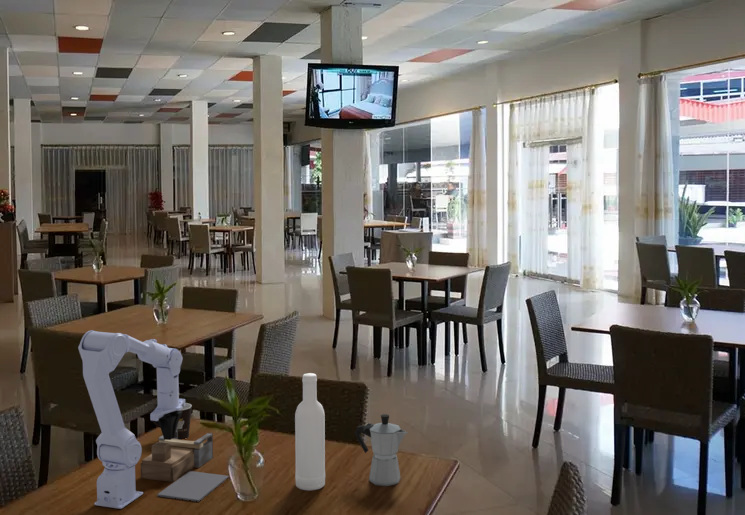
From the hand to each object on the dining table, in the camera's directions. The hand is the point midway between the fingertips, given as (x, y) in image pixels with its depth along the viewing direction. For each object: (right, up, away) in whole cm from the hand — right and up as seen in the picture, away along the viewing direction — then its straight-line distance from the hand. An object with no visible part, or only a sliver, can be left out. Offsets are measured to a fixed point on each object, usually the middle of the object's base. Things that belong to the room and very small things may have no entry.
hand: (169, 438), depth 202 cm
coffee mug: (-6, -7, +28) cm, 30 cm away
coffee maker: (+59, -10, -5) cm, 60 cm away
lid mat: (+9, -10, -10) cm, 17 cm away
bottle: (+40, -11, -8) cm, 42 cm away
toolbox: (+1, -9, +4) cm, 10 cm away
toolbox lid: (0, -5, +1) cm, 5 cm away
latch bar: (+2, -4, +6) cm, 7 cm away
